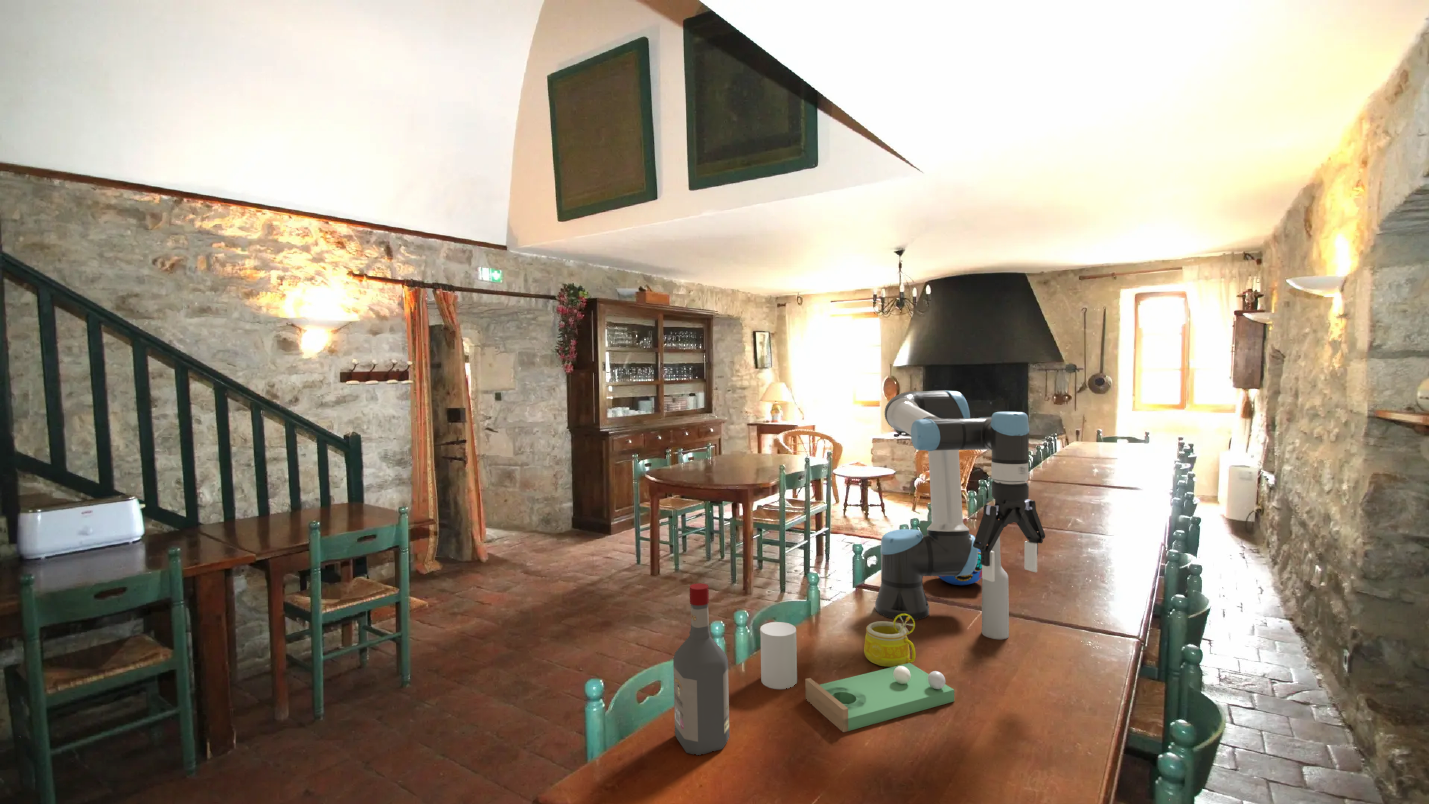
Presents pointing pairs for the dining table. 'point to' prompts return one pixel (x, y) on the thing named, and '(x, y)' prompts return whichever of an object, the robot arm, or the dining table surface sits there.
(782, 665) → the cup
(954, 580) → the blue painted round piece
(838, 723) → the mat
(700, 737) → the liquor
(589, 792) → the dining table surface
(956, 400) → the robot arm
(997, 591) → the bottle
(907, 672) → the ball
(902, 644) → the mug
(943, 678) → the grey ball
